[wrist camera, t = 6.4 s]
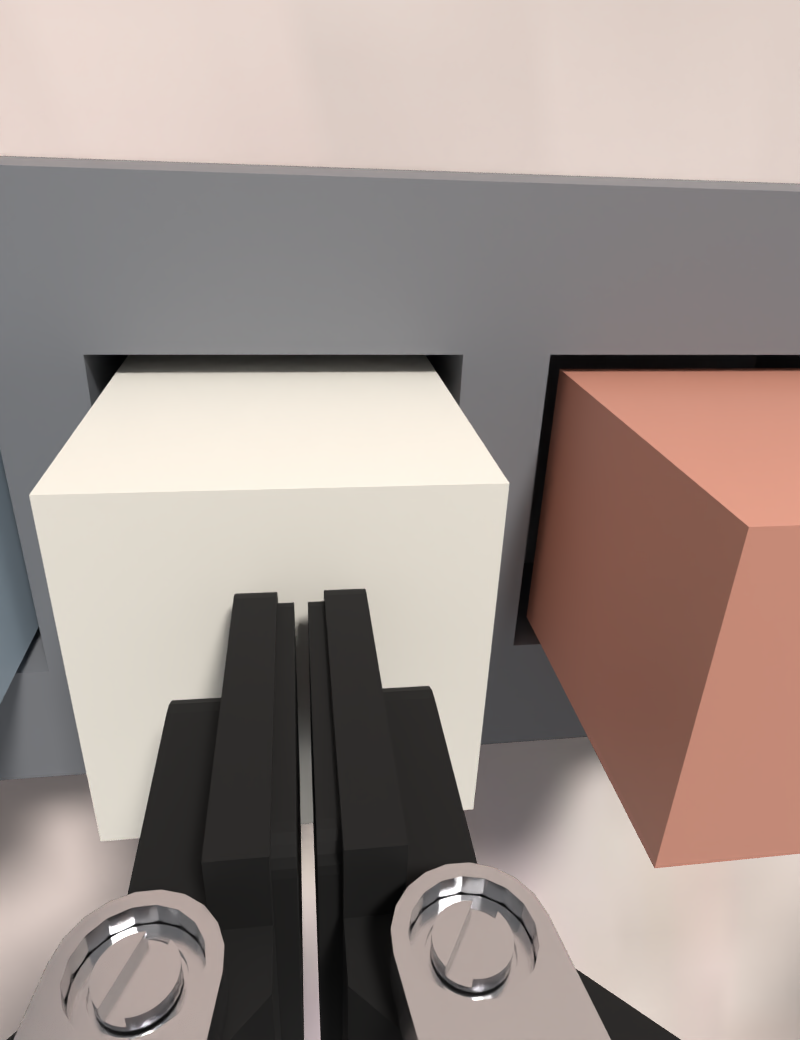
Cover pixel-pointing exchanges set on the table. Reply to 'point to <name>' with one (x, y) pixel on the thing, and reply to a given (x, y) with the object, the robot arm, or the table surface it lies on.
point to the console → (370, 330)
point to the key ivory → (264, 543)
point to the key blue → (12, 592)
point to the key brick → (680, 598)
